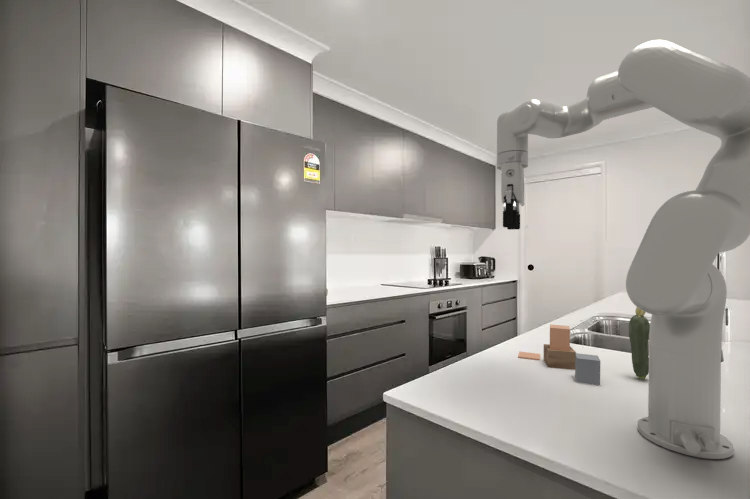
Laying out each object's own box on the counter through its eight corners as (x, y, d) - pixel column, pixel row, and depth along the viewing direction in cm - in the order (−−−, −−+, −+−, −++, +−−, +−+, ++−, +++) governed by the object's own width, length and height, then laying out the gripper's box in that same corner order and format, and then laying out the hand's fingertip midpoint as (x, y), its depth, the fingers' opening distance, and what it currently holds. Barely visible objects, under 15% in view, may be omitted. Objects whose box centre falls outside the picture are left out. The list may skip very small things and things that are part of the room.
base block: (576, 370, 100) (576, 352, 100) (548, 368, 102) (548, 350, 102) (569, 363, 107) (569, 345, 107) (543, 360, 109) (543, 344, 109)
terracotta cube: (569, 351, 101) (569, 329, 101) (549, 348, 103) (549, 327, 103) (569, 346, 106) (569, 326, 106) (549, 344, 108) (550, 324, 108)
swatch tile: (539, 360, 108) (539, 359, 108) (518, 357, 111) (518, 356, 111) (540, 355, 114) (540, 353, 114) (519, 352, 116) (519, 351, 116)
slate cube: (600, 385, 89) (600, 360, 89) (576, 382, 91) (576, 358, 91) (597, 379, 93) (597, 355, 93) (575, 376, 95) (575, 353, 95)
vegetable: (649, 383, 90) (649, 302, 90) (627, 379, 93) (628, 300, 93) (649, 378, 94) (650, 300, 94) (628, 374, 96) (629, 298, 96)
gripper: (525, 151, 85) (525, 225, 85) (529, 167, 100) (529, 229, 100) (492, 155, 88) (491, 226, 88) (501, 169, 104) (500, 230, 104)
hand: (511, 228), depth 94 cm, fingers open, 9 cm apart
